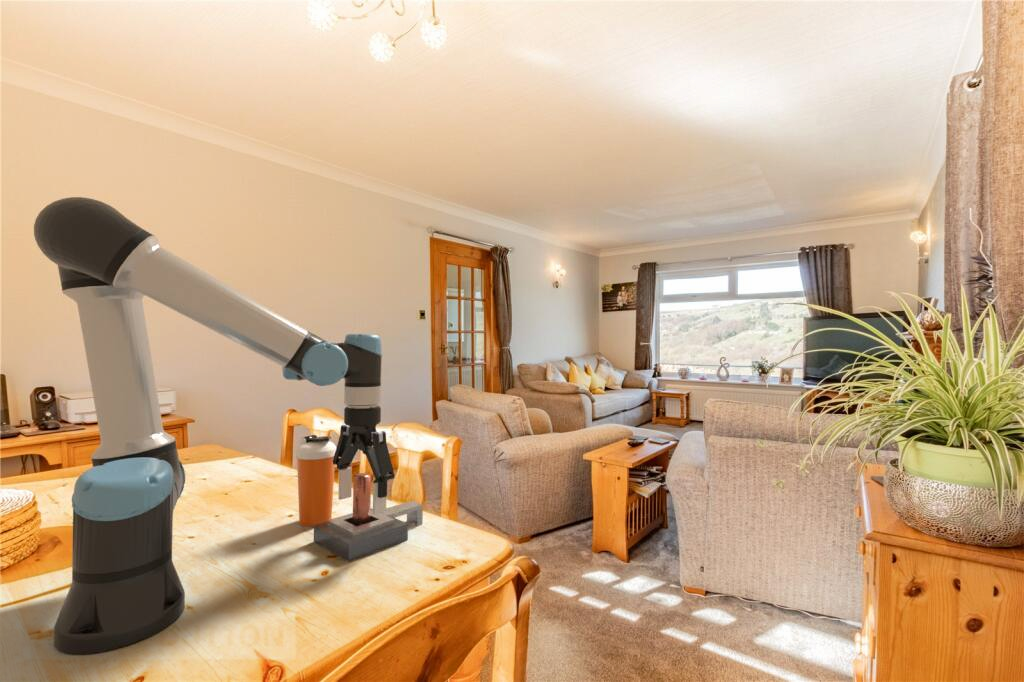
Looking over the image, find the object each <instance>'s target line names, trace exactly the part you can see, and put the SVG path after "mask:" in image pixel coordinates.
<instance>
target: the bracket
mask: <svg viewBox="0 0 1024 682" xmlns="http://www.w3.org/2000/svg"><path fill="white" fill-rule="evenodd" d="M372 509H373V508H372ZM372 509H371V508H370V520H371V521H373V522H370V523H366V524H363V525H360V526H355V525H353V524H350V522H353V512H351V513H347V514H345V515H341V516H337V517H334V518H331V519H330V520H328V521H327V525H328V526H330V527H332V528H334V529H336V530H338V531H340V532H342V533H344V534H346V535H348V536H350V537H352V538H354V537H357V536H360V535H363V534H366V533H369V532H372V531H375V530H378V529H381V528H384V527H387V526H390V525H393V524H395V519H393V518H398V517H401V516H404V515H406V522H407V523H408V522H409V523H411V524H413V525H415V526H419V525H423V509H424V505H423V504H422V503H420V502H417V501H415V500H410V501H406V502H403V503H399V504H397V505H393V506H388V507H386V511H385V512H381V513H378V514H373V510H372Z"/></svg>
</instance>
